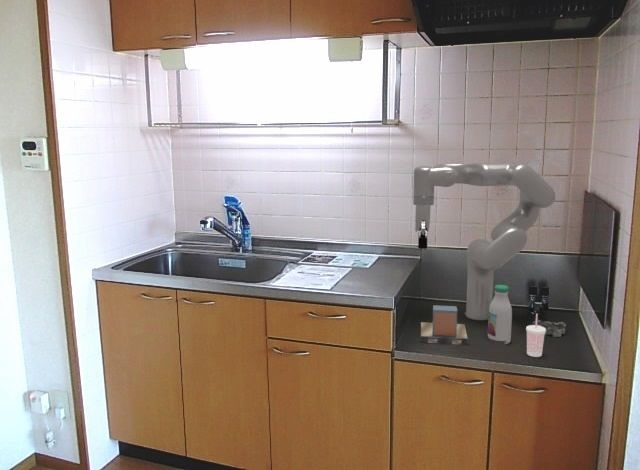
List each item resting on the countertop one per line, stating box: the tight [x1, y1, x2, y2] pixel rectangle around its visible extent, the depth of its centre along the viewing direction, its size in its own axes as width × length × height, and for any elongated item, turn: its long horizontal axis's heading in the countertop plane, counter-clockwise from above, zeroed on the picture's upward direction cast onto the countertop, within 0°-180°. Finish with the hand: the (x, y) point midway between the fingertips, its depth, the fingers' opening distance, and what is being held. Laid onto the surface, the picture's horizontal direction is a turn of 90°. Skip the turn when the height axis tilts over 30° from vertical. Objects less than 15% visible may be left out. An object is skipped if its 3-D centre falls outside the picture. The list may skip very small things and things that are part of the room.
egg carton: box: [531, 319, 567, 338], centre depth 203 cm, size 11×8×4 cm
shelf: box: [420, 321, 470, 346], centre depth 200 cm, size 16×20×4 cm
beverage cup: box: [525, 313, 546, 358], centre depth 183 cm, size 6×6×14 cm
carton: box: [432, 304, 458, 338], centre depth 194 cm, size 8×5×11 cm, turn 80°
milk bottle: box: [487, 284, 513, 345], centre depth 194 cm, size 8×8×20 cm
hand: (422, 245), depth 209 cm, fingers open, 9 cm apart
